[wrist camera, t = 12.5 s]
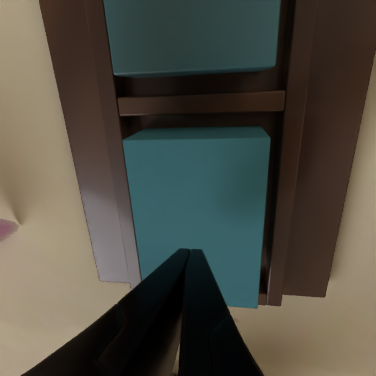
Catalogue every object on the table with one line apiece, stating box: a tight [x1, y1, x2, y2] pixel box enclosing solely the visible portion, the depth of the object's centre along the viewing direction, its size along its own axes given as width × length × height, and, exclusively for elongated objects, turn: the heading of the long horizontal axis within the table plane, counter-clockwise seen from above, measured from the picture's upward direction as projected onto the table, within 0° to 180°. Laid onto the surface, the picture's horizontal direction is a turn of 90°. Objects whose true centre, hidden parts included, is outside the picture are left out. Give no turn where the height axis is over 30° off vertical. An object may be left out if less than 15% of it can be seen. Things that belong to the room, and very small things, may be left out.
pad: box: [123, 125, 270, 309], centre depth 12 cm, size 6×8×3 cm
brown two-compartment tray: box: [39, 0, 376, 306], centre depth 11 cm, size 14×22×4 cm, turn 2°
